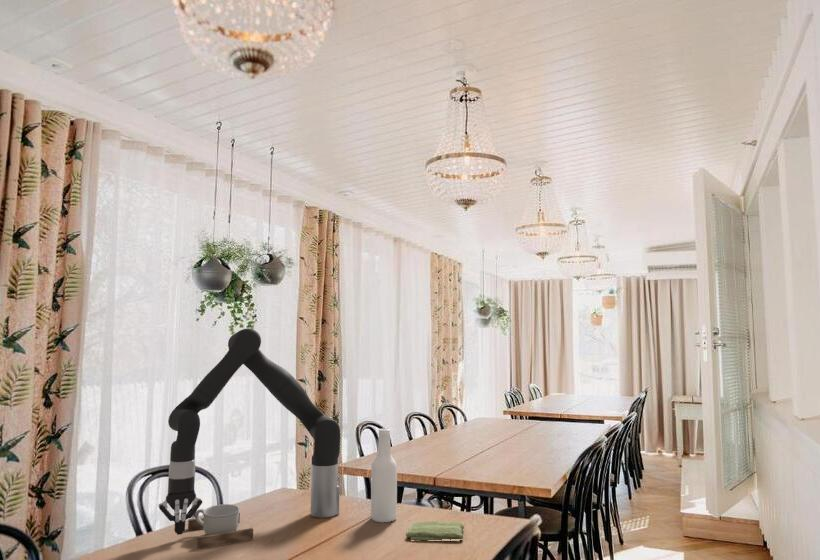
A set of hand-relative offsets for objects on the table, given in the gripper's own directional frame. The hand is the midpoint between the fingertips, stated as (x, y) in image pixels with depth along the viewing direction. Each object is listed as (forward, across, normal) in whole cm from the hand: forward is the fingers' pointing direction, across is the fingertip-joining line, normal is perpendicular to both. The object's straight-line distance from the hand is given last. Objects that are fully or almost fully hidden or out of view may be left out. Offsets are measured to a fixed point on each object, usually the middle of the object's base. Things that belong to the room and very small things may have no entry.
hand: (179, 533), depth 174 cm
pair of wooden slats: (+2, -12, 0) cm, 12 cm away
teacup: (+2, -11, 0) cm, 11 cm away
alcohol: (+2, -64, +11) cm, 65 cm away
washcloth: (+3, -71, +33) cm, 78 cm away
